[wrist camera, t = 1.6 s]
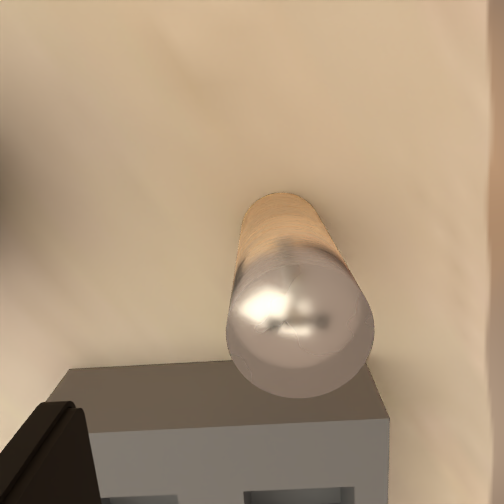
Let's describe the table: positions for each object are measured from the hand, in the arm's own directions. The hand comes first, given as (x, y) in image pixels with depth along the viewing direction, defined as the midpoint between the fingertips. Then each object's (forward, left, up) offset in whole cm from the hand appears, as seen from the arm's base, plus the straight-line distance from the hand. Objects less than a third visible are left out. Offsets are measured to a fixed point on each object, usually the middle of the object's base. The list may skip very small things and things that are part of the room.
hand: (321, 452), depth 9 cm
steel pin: (-1, 0, -15) cm, 15 cm away
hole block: (+12, -4, -15) cm, 20 cm away
